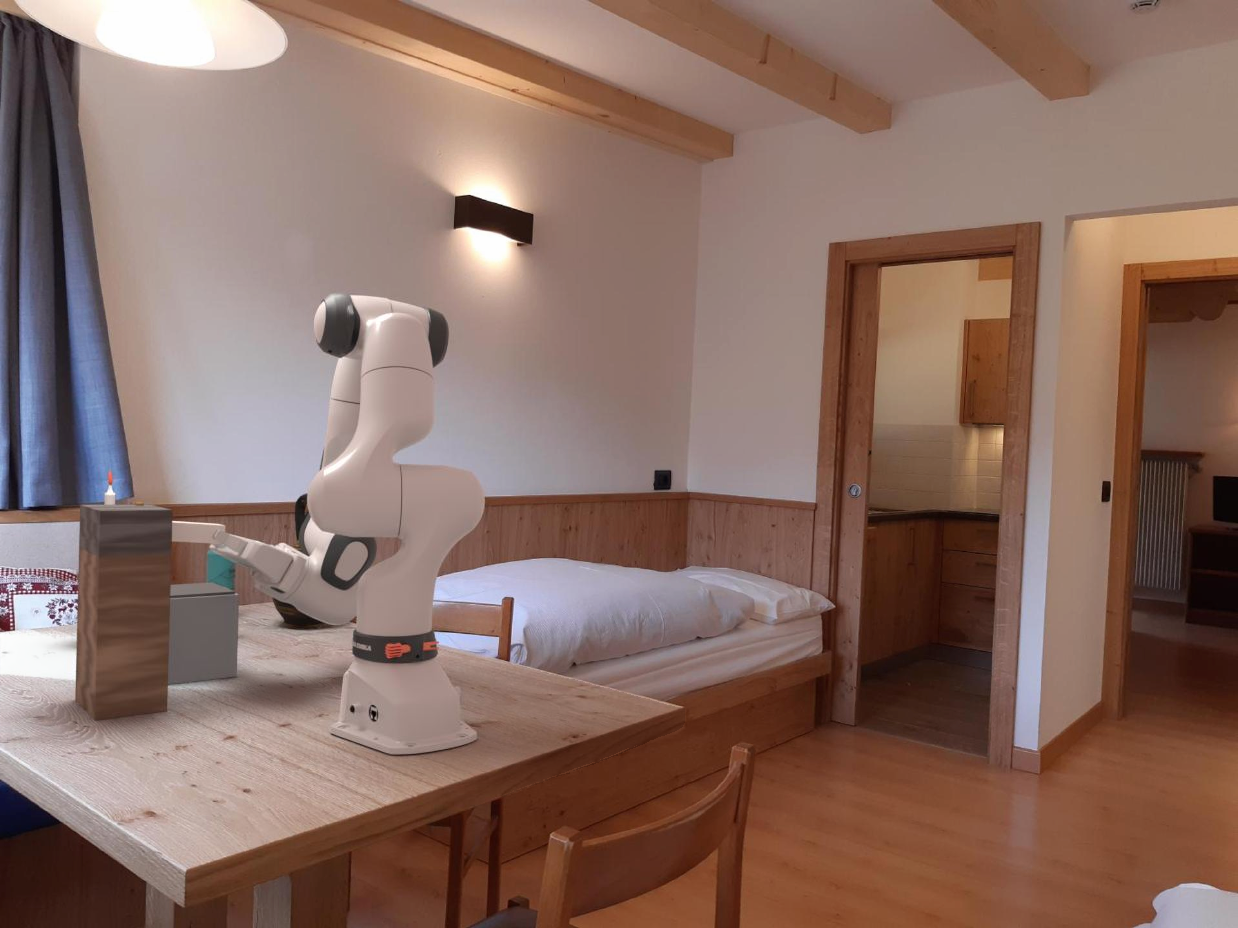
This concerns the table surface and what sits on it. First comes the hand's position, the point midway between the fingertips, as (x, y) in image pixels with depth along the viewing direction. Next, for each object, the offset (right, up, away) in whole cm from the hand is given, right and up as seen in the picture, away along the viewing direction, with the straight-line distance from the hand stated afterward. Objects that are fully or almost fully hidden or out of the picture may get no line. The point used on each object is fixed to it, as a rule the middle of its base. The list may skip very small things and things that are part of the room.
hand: (206, 531), depth 161 cm
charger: (-5, -1, -4) cm, 6 cm away
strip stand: (-10, -27, -7) cm, 29 cm away
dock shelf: (-11, -26, +14) cm, 32 cm away
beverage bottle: (-25, -25, +68) cm, 77 cm away
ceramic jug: (-4, -26, +65) cm, 70 cm away
